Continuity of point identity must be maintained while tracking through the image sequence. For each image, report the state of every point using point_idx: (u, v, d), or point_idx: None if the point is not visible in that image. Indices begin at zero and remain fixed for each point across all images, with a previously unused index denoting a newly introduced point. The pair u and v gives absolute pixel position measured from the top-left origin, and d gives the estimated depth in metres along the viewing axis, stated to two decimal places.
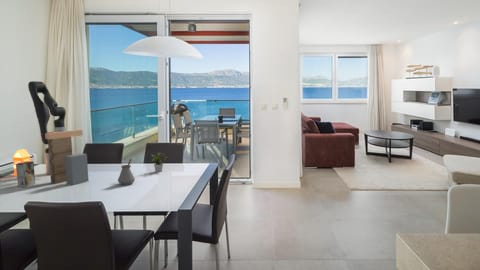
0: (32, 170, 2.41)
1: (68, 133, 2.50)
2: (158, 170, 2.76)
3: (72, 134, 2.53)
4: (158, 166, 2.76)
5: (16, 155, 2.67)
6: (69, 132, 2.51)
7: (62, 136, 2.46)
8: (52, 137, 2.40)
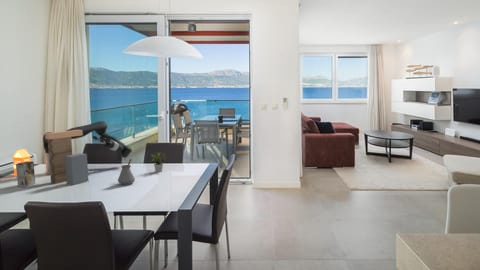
0: (32, 170, 2.41)
1: (68, 133, 2.50)
2: (158, 170, 2.76)
3: (72, 134, 2.53)
4: (158, 166, 2.76)
5: (16, 155, 2.67)
6: (69, 132, 2.51)
7: (62, 136, 2.46)
8: (52, 137, 2.40)
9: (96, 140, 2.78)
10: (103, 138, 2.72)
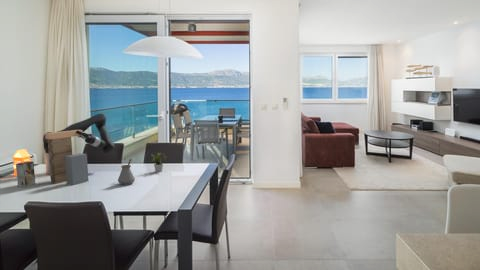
0: (32, 170, 2.41)
1: (68, 133, 2.50)
2: (158, 170, 2.76)
3: (72, 134, 2.53)
4: (158, 166, 2.76)
5: (16, 155, 2.67)
6: (69, 132, 2.51)
7: (62, 136, 2.46)
8: (52, 137, 2.40)
9: None
10: (80, 132, 2.57)
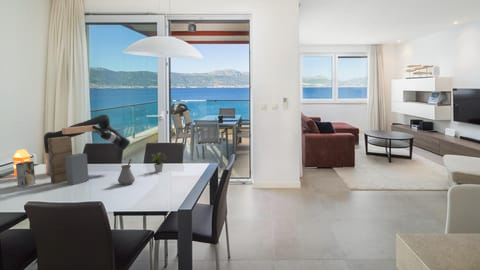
0: (32, 170, 2.41)
1: (84, 128, 2.46)
2: (158, 170, 2.76)
3: (88, 129, 2.49)
4: (158, 166, 2.76)
5: (16, 155, 2.67)
6: (85, 127, 2.47)
7: (79, 131, 2.43)
8: (69, 132, 2.36)
9: None
10: (96, 127, 2.53)
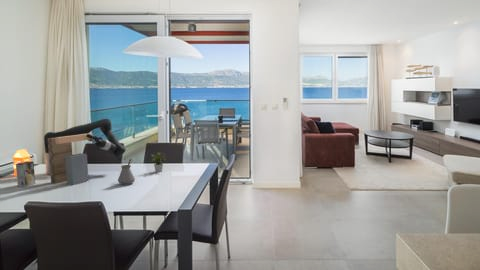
0: (32, 170, 2.41)
1: (78, 137, 2.43)
2: (158, 170, 2.76)
3: (82, 137, 2.45)
4: (158, 166, 2.76)
5: (16, 155, 2.67)
6: (79, 136, 2.43)
7: (72, 140, 2.39)
8: (62, 141, 2.33)
9: None
10: (91, 136, 2.50)
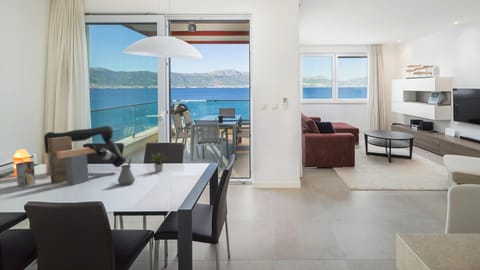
0: (32, 170, 2.41)
1: (80, 151, 2.44)
2: (158, 170, 2.76)
3: (84, 151, 2.47)
4: (158, 166, 2.76)
5: (16, 155, 2.67)
6: (81, 150, 2.45)
7: (74, 154, 2.40)
8: (64, 156, 2.34)
9: None
10: (92, 146, 2.50)
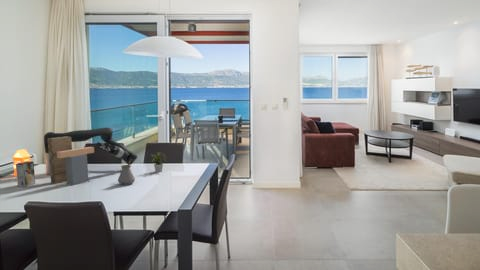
0: (32, 170, 2.41)
1: (80, 151, 2.44)
2: (158, 170, 2.76)
3: (84, 151, 2.47)
4: (158, 166, 2.76)
5: (16, 155, 2.67)
6: (81, 150, 2.45)
7: (74, 154, 2.40)
8: (64, 156, 2.34)
9: None
10: (108, 145, 2.60)
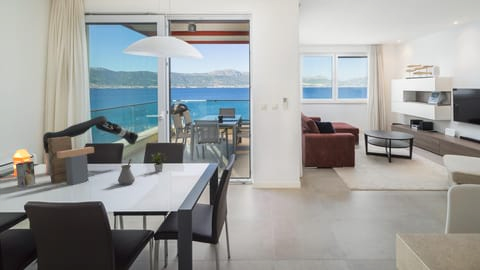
0: (32, 170, 2.41)
1: (80, 151, 2.44)
2: (158, 170, 2.76)
3: (84, 151, 2.47)
4: (158, 166, 2.76)
5: (16, 155, 2.67)
6: (81, 150, 2.45)
7: (74, 154, 2.40)
8: (64, 156, 2.34)
9: (103, 125, 2.77)
10: (110, 123, 2.71)
